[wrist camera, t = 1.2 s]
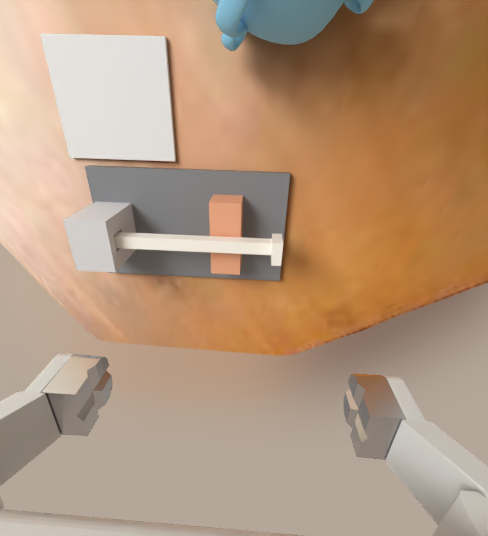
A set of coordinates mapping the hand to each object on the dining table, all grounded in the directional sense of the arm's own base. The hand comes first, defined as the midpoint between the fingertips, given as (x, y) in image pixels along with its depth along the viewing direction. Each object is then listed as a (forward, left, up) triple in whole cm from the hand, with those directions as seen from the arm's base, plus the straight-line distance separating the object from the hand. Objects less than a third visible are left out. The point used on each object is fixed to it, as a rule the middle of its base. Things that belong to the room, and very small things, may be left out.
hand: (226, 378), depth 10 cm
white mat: (-8, -17, -33) cm, 38 cm away
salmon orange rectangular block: (+7, -3, -32) cm, 33 cm away
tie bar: (+7, -8, -28) cm, 30 cm away
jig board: (+7, -9, -33) cm, 35 cm away
